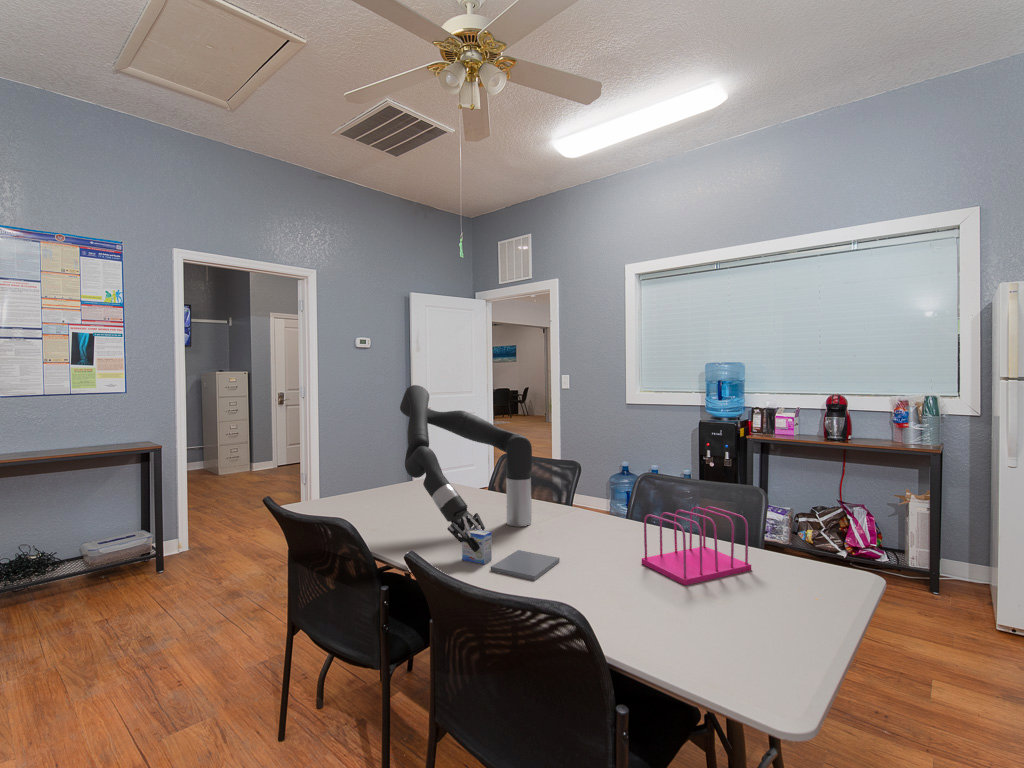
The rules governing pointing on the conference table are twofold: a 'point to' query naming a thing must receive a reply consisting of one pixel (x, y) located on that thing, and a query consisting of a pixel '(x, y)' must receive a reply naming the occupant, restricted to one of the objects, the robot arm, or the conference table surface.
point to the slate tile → (525, 564)
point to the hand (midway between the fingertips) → (482, 547)
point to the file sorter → (696, 553)
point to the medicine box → (485, 547)
